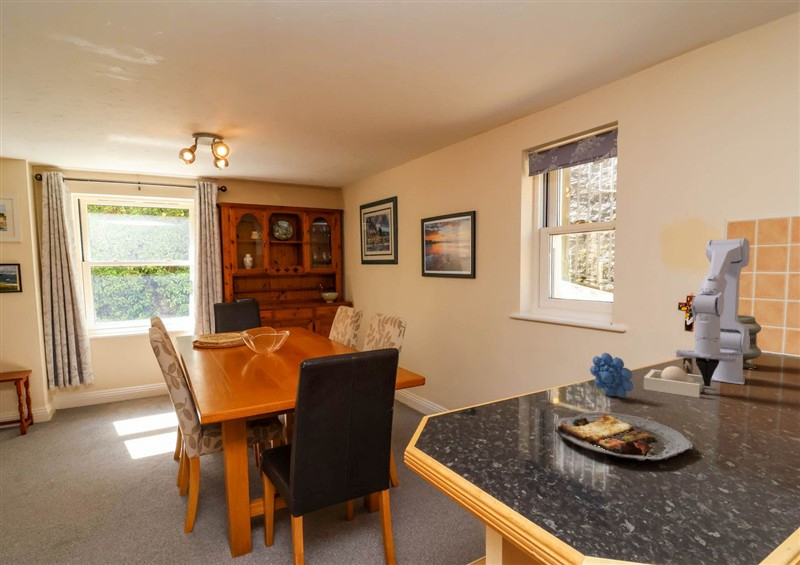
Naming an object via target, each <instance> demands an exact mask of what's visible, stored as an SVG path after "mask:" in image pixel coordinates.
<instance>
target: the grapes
mask: <svg viewBox="0 0 800 565" xmlns="http://www.w3.org/2000/svg"><path fill="white" fill-rule="evenodd" d="M592 363H593V365H592V366H590V368H589V371H590V374H591V375H592V376H593V377H595V378H594V380H593V381H594V384H595V385H596V386H597V387H598V388H600V389H603V390H604V393H605V394H606V395H607V396H609V397H611V396H612V397H614V396H615V395H616V396H617V397H619V398H621V399H623V398H626V397H627V396H628V394H627V393H628V392H632V391H633V390H634V384H633V382H632V381H631V379H633V372H632V371H631V370H630V368H627V367H625V363H624V361H623V359H622V358H620V357H613V356H612V355H611V354H610V353H607V352H603V353H602V354H601V357H600V356H598V355H597V356H596V355H595V356H593V358H592Z"/></svg>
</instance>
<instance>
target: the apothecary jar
mask: <svg viewBox="0 0 800 565" xmlns="http://www.w3.org/2000/svg"><path fill="white" fill-rule="evenodd" d="M738 321H739V322H740V323H742V324H743V325H745V326H746V327H747V328H748V329H749V336H750V347H749V350H748V351H747V352H746V353H743V368H754V367H755V366H756V365H755V364H752V363H750V362H747V361H749V360H755V359H758V358H759V357H760V356H761V355H762V349H761V348H759V346H758V344H757V343H758V342H757V341H758V340H757V339H758V338H757V334H759V333H760V332H761V330H762V327H761V325H760V324H759V323H758V322H757V320H756V317H755V316H752V315H746V314H738ZM720 330H722V331H734V332H740V331H738V330H729V329H720Z"/></svg>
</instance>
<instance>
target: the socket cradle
mask: <svg viewBox="0 0 800 565" xmlns="http://www.w3.org/2000/svg"><path fill="white" fill-rule="evenodd" d="M662 372H663V370H660V369H653V368H651V369H650V371H649V372H648V373H647V374H645V375H644V377H643V390H644V391H645V390H646V391H653V392H659V393H666V394H672V395H678V396H679V395H680V396H686V397H691V398H692V397H693V398H698V399H700V396H701V395H700V394H701V393H700V384H695V383H688V382H680V381H673V380H666V379H661V374H662ZM687 374H688V375H689V376H690V377H691V378H693V379H694V380H696V381H697V382H699V383H701V384H704V381H703V377H702V374H692V373H687Z"/></svg>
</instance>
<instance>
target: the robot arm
mask: <svg viewBox="0 0 800 565" xmlns="http://www.w3.org/2000/svg"><path fill="white" fill-rule="evenodd" d="M750 247H751V246H750V240H748V239H747V237H742V238H728V239H710V240H708V241H707V242H706V245H705V255H706V258H707V259H708V261H709V263H710V266H709V272H708V274H707V275H705V276H704V277H703V278H702V281H701V284H700V287H699V290H698V293H697V294H696V296H693V297H692V300H691V313H692V319H693V321H694V350H689V349H688V350H685V349H676V350H675V357H676V358H679V359H680V358H685V359H694V360H695V364H696V366H697V368H698V369H699V372H700V375H701V376H702V377H703V381H704V387H711V383H712V381H714V382H721V383H727V384H728V383H729V384H736V385H745V381H746V378H745V376H743V375H744V369H743V353H746V352H747V351H748V350H749V347H750V336H749V329H748V328H747V327H746V326H745V325H743V324H742V323H740V322H739V321H738V315H739V305H740V303H739V302H740V284H741V283H740V280H741V273H742V269H743V268H745V267H747V266H749V263H750V253H751V252H750V251H751V249H750ZM720 329H729V330H738V331H740V332H734V331H722V330H720Z"/></svg>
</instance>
